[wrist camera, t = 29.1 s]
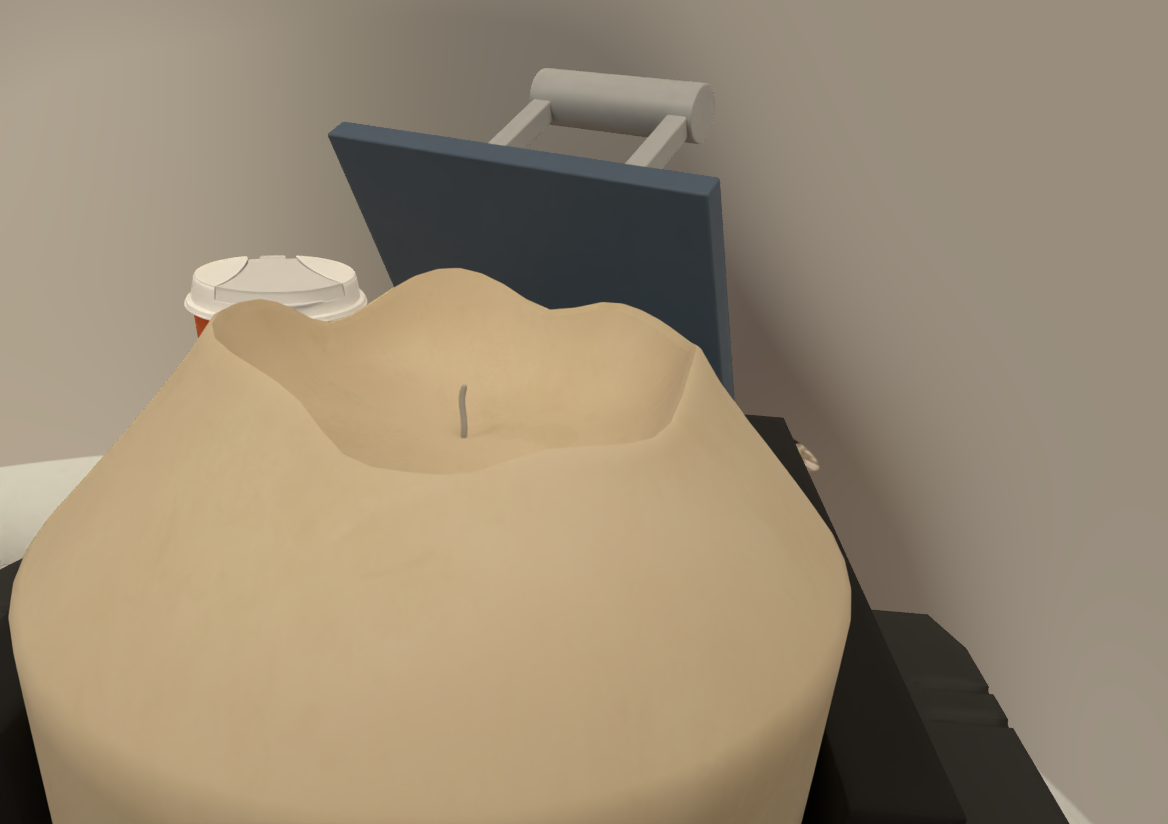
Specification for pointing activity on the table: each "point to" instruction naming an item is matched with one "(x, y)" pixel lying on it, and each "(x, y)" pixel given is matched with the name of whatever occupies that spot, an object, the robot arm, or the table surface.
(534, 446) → the candle
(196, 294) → the coffee cup
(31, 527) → the table surface
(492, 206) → the box lid
